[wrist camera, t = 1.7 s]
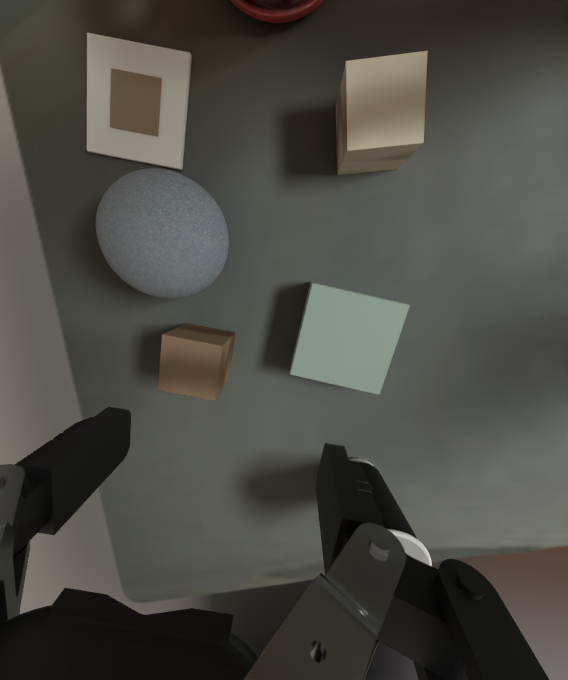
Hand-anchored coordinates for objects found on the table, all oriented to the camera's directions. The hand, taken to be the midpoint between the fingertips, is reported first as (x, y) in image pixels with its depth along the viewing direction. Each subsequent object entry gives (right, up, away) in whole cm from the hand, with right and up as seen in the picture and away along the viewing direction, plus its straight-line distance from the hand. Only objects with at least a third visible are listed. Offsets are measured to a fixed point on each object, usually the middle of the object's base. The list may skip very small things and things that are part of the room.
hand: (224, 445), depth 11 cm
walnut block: (-6, +3, +19) cm, 21 cm away
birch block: (+10, +23, +14) cm, 28 cm away
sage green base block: (+9, +5, +18) cm, 21 cm away
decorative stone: (-7, +14, +17) cm, 23 cm away
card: (-11, +26, +14) cm, 31 cm away
